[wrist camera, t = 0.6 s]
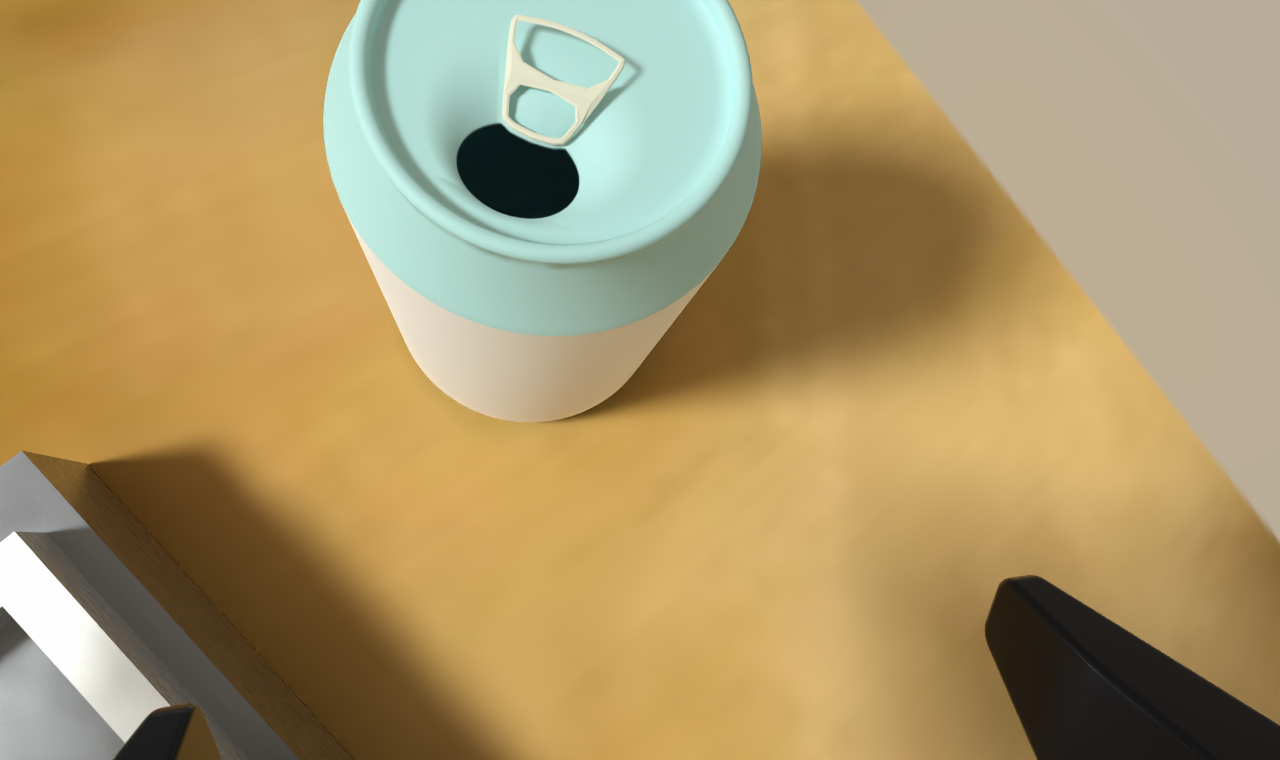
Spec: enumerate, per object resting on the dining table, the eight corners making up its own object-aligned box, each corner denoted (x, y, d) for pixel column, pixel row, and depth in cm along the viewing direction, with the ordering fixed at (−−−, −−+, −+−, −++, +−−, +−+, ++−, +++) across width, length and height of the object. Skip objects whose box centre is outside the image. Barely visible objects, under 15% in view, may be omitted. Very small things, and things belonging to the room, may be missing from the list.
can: (687, 385, 24) (862, 234, 12) (438, 458, 23) (374, 365, 11) (612, 155, 25) (710, -183, 13) (368, 212, 24) (242, -113, 12)
